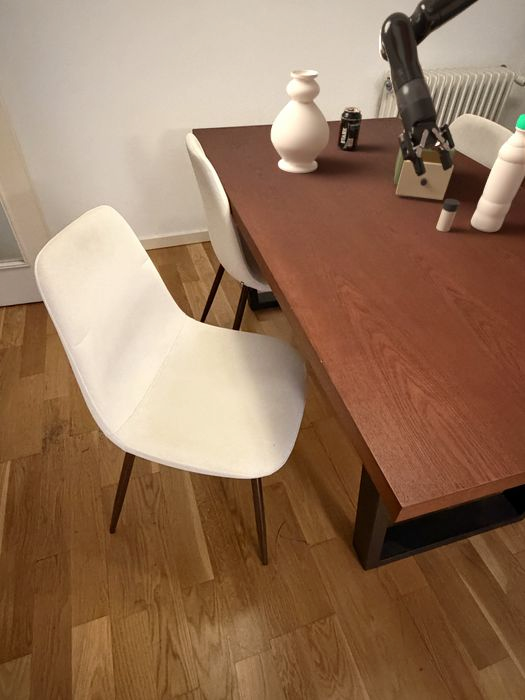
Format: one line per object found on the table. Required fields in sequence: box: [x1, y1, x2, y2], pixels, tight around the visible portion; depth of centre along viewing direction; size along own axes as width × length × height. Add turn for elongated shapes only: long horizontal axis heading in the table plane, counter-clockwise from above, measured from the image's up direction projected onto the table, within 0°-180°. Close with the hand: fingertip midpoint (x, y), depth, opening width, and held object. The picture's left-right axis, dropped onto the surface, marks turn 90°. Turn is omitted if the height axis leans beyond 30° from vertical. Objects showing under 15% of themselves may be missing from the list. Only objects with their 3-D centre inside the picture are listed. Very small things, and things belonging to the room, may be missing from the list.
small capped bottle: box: [435, 198, 461, 233], centre depth 98 cm, size 3×3×7 cm
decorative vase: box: [270, 69, 330, 174], centre depth 120 cm, size 18×18×25 cm
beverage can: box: [336, 106, 363, 151], centre depth 136 cm, size 7×7×12 cm
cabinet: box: [393, 129, 456, 186], centre depth 119 cm, size 15×14×11 cm
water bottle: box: [470, 113, 525, 233], centre depth 92 cm, size 7×7×25 cm
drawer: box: [395, 150, 455, 201], centre depth 112 cm, size 15×13×9 cm
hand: (435, 171), depth 97 cm, fingers open, 8 cm apart
